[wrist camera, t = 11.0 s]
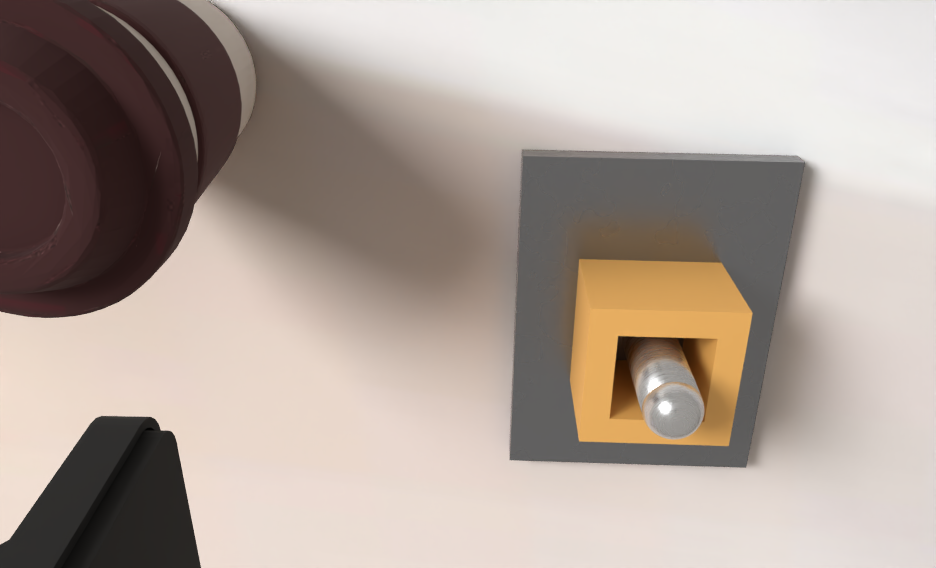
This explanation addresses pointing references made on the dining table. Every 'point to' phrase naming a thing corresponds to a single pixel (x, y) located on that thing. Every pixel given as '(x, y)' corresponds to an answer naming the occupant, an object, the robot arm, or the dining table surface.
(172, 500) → the robot arm
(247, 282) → the dining table surface
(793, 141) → the dining table surface
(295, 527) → the dining table surface
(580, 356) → the orange hollow square block
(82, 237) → the coffee cup
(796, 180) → the keeper
